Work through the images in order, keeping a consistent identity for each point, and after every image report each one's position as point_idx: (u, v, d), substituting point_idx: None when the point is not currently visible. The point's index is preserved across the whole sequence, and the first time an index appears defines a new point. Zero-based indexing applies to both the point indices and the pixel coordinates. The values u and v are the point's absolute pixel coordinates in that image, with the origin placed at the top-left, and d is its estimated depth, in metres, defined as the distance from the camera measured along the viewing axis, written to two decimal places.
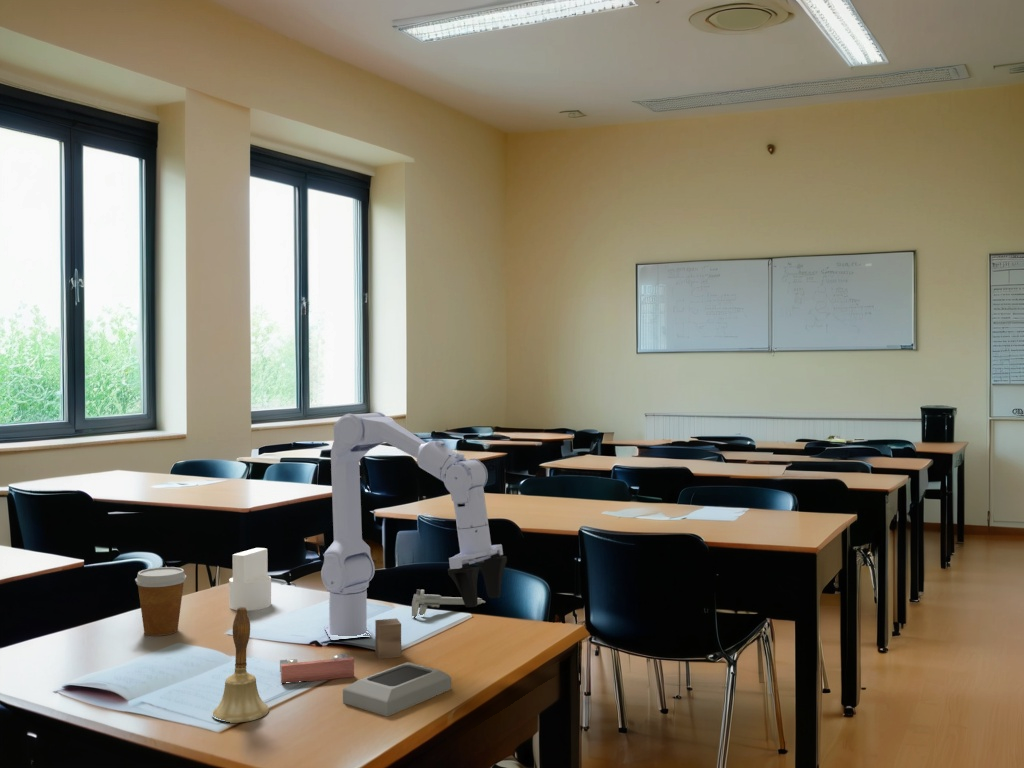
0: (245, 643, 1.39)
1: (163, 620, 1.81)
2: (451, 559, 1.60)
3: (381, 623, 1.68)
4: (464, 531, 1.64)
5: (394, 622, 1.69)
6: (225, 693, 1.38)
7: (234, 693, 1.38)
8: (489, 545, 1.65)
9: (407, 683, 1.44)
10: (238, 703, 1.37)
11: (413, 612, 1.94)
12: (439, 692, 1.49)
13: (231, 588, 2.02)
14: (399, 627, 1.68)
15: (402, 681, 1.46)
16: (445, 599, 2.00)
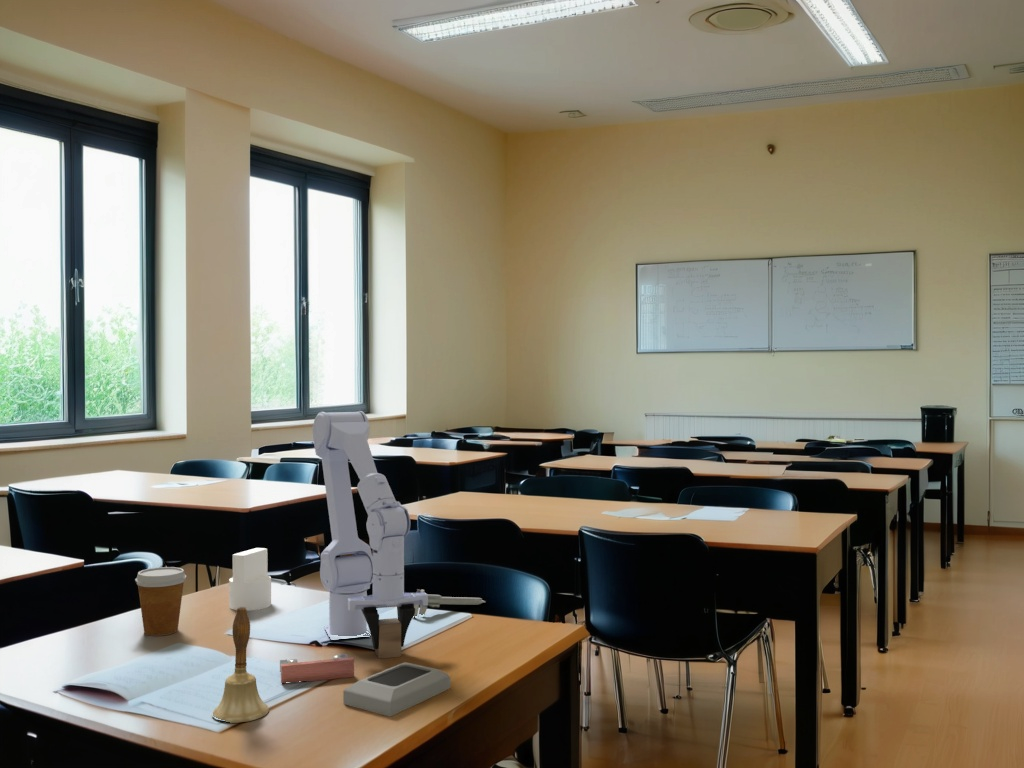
0: (245, 643, 1.39)
1: (163, 620, 1.81)
2: (348, 600, 1.67)
3: (381, 623, 1.68)
4: (372, 576, 1.68)
5: (394, 622, 1.69)
6: (225, 693, 1.38)
7: (234, 693, 1.38)
8: (393, 595, 1.67)
9: (408, 683, 1.44)
10: (238, 703, 1.37)
11: None
12: (439, 691, 1.49)
13: (231, 588, 2.02)
14: (399, 627, 1.68)
15: (403, 681, 1.46)
16: (446, 599, 2.00)
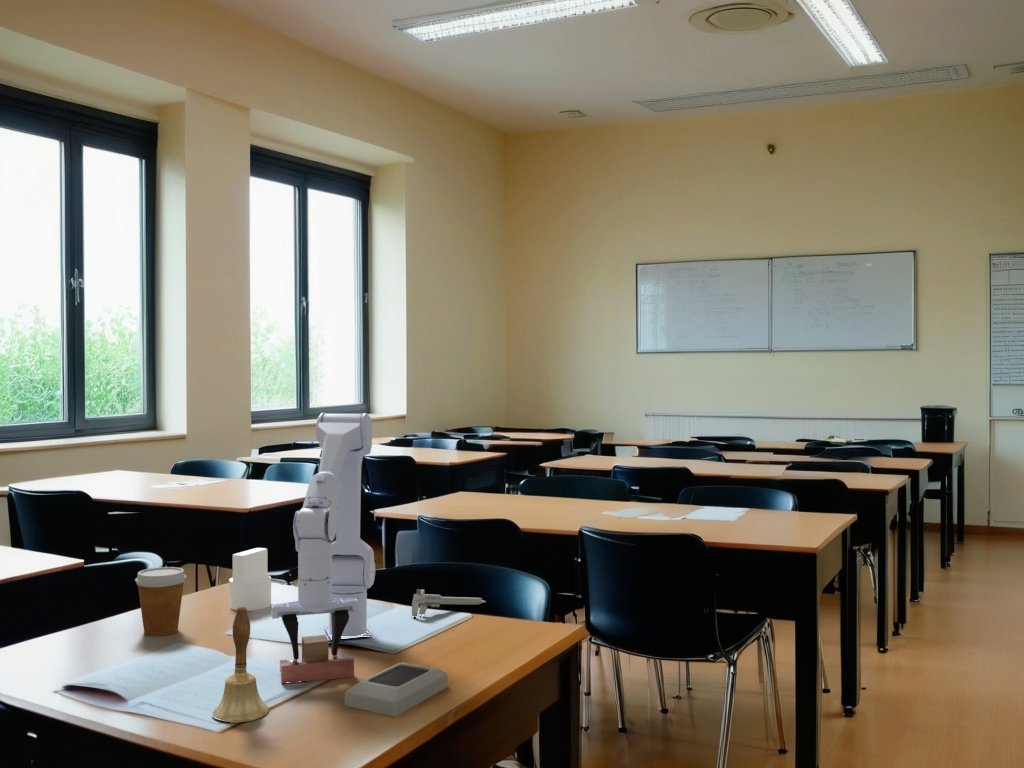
0: (245, 643, 1.39)
1: (163, 620, 1.81)
2: (271, 607, 1.57)
3: (307, 640, 1.57)
4: (298, 581, 1.58)
5: (321, 639, 1.58)
6: (225, 693, 1.38)
7: (234, 693, 1.38)
8: (319, 602, 1.56)
9: (410, 682, 1.44)
10: (238, 703, 1.37)
11: (413, 612, 1.94)
12: (438, 690, 1.49)
13: (231, 588, 2.02)
14: (326, 644, 1.57)
15: (403, 681, 1.46)
16: (446, 598, 2.00)
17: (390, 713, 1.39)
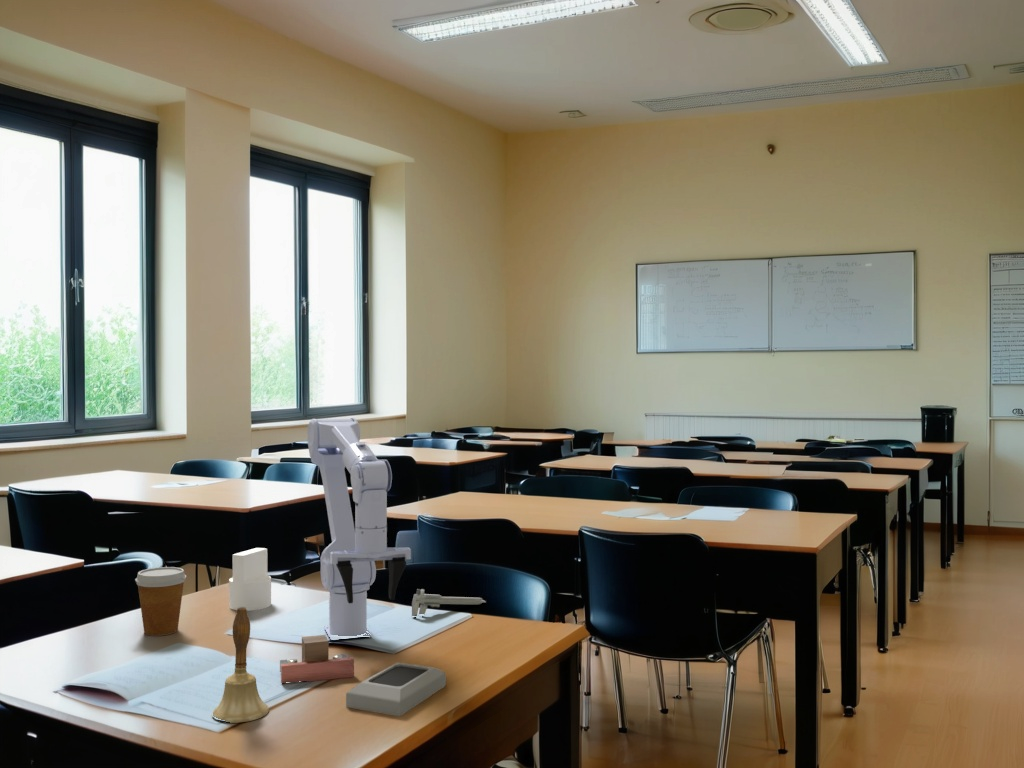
0: (245, 643, 1.39)
1: (163, 620, 1.81)
2: (330, 554, 1.67)
3: (307, 640, 1.57)
4: (355, 529, 1.68)
5: (321, 639, 1.58)
6: (225, 693, 1.38)
7: (234, 693, 1.38)
8: (375, 549, 1.67)
9: (412, 682, 1.45)
10: (238, 703, 1.37)
11: (413, 612, 1.94)
12: (437, 689, 1.50)
13: (231, 588, 2.02)
14: (326, 644, 1.57)
15: (404, 681, 1.46)
16: (446, 598, 2.00)
17: (394, 713, 1.39)
